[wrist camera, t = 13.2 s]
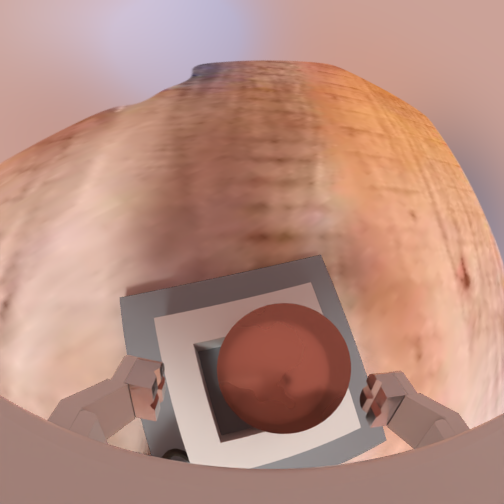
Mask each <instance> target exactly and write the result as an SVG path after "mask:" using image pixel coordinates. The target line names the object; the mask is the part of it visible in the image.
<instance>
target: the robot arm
mask: <svg viewBox="0 0 504 504" xmlns="http://www.w3.org/2000/svg"><path fill="white" fill-rule="evenodd" d="M164 371H165V367H164V363H163V362H159V361H154V360H149V359H145V358H140V357H135V356H131V355H126V356H124V358H123V360H122V361H121V363H120V365H119V366H118V368H117V370H116V371H115V373H114V375H113V377H112V378H111V380H109V379H106V380H104V381H102V382H100V383H98V384H96V385H94V386H91V387H89V388H87V389H85V390H83V391H80V392H78V393H76V394H74V395H71V396H69V397H67V398H65V399H62V400H61V401H60V402H59V404H58V405H57V407H56V408H55V410H54V411H53V413H52V414H51V416H50V417H49V419H48V420H45V419H43V418H41V417H39V416H37V415H35V414H33V413H31V412H29V411H27V410H25V409H23V408H22V407H20V406H18V405H16V404H14V403H13V402H11V401H9V400H7V399H6V398H4V397H2V396H1V395H0V504H504V413H503V414H501V415H500V416H498V417H496V418H494V419H492V420H490V421H488V422H485V423H483V424H481V425H479V426H477V427H474V428H472V429H469V428H468V426H467V425H466V423H465V422H464V420H463V419H462V418H461V416H460V415H459V413H457V412H455V411H453V410H451V409H449V408H447V407H445V406H443V405H442V404H440V403H438V402H436V401H434V400H432V399H430V398H428V397H427V396H425V395H423V394H421V393H417V392H416V390H415V389H414V388H413V386H412V385H411V383H410V382H409V380H408V379H407V377H406V376H405V375H404V373H403V372H401V371H395V372H388V373H376V374H370V375H369V376H368V378H367V380H366V382H367V386H365V387H364V388H363V389H362V391H361V394H360V400H359V401H360V406H361V408H362V410H363V411H365V412H366V413H367V414H366V416H365V418H366V420H367V422H368V424H369V427H370V428H372V427H380V426H387V427H388V428H389V429H391V430H392V431H393V432H394V433H395V434H397V435H398V436H399V437H400V438H401V439H403V440H404V441H405V442H406V443H408V444H409V445H410V446H411V447H413V448H414V449H413V450H409V451H406V452H402V453H398V454H394V455H390V456H385V457H381V458H376V459H371V460H365V461H360V462H354V463H347V464H340V465H332V466H322V467H311V468H294V469H247V468H230V467H218V466H209V465H200V464H193V463H186V462H180V461H174V460H169V459H164V458H159V457H154V456H150V455H145V454H141V453H137V452H133V451H130V450H126V449H122V448H119V447H116V446H112V445H109V444H108V443H107V439H108V438H110V437H111V436H112V435H114V434H115V433H116V432H118V431H119V430H120V429H122V428H123V427H124V426H126V425H127V424H128V423H130V422H131V421H132V420H134V419H135V417H137V418H142V419H147V420H152V421H157V418H158V415H159V412H160V403H161V402H162V401H163V399H164V396H165V390H166V379H165V378H164V377H163V374H164Z"/></svg>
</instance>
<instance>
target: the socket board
mask: <svg viewBox="0 0 504 504" xmlns="http://www.w3.org/2000/svg"><path fill="white" fill-rule="evenodd" d="M277 303H293V304H298V305H302V306H306V307H309V308H311V309H313V310H315V311H317V312H319V313H321V314H322V315H324V316H325V317H326V318H327V319H329V320H330V321H331V322H332V323H333V324H334V325H335V326H336V328H337V329H338V330H339V331H340V333H341V335H342V336H343V338H344V340H345V342H346V344H347V347H348V350H349V354H350V360H351V377H350V382H349V387H348V389H347V392H346V395H345V397H344V398H343V400H342V402H341V404H340V405H339V406H338V408H337V409H336V410H335V411H334V412H333V414H332V415H331V416H329V417H328V418H327V419H326V420H325V421H323V422H322V423H320V424H318V425H317V426H315V427H313V428H311V429H308V430H305V431H302V432H298V433H292V434H276V433H269V432H265V431H262V430H259V429H257V428H254V427H252V426H251V425H249V424H247V423H246V422H244V421H243V420H242V419H240V418H239V417H238V416H237V415H236V414H235V413H234V412H233V411H232V410H231V408H230V407H229V405H228V404H227V403H226V401H225V399H224V397H223V395H222V392H221V390H220V387H219V382H218V377H217V361H218V356H219V351H220V348H221V346H222V343H223V341H224V339H225V337H226V335H227V334H228V332H229V331H230V330H231V328H232V327H233V326H234V325H235V324H236V323H237V322H238V321H239V320H240V319H241V318H242V317H244V316H245V315H247V314H248V313H250V312H251V311H253V310H256V309H258V308H260V307H263V306H266V305H271V304H277ZM120 306H121V315H122V323H123V331H124V338H125V344H126V351H127V355H131V356H135V357H140V358H145V359H149V360H154V361H159V362H163V363H164V367H165V371H164V374H163V377H164V378H165V379H166V390H165V396H164V399H163V401H162V402H161V403H160V412H159V415H158V418H157V421H152V420H147V419H142V418H141V421H142V425H143V428H144V432H145V435H146V439H147V442H148V445H149V449H150V452H151V455H152V456H154V457H159V458H161V457H162V456H163V455H164V454H165V453H166V452H167V451H168V450H170V449H174V448H176V449H181V450H184V451H186V452H187V455H188V458H189V461H190V462H188V461H186V460H185V459H183V458H181V457H179V456H173V457H172V458H171V459H170V460H174V461H180V462H186V463H193V464H200V465H209V466H218V467H230V468H247V469H294V468H311V467H322V466H332V465H339V464H341V463H343V462H346V461H348V460H350V459H352V458H354V457H356V456H358V455H360V454H362V453H364V452H366V451H368V450H370V449H372V448H374V447H375V446H377V445H379V444H381V443H383V442H384V441H386V437H385V433H384V430H383V426H380V427H372V428H370V427H369V424H368V422H367V420H366V418H365V416H366V414H367V413H366V412H365V411H363V410H362V408H361V406H360V401H359V400H360V394H361V391H362V389H363V388H364V387H365V386H367V382H366V380H367V375H366V372H365V369H364V366H363V363H362V360H361V357H360V355H359V352H358V349H357V346H356V343H355V341H354V338H353V335H352V332H351V330H350V327H349V324H348V322H347V319H346V316H345V314H344V311H343V308H342V306H341V303H340V301H339V298H338V296H337V293H336V291H335V288H334V286H333V283H332V281H331V278H330V276H329V273H328V271H327V268H326V266H325V264H324V261H323V259H322V257H321V255H318V256H313V257H309V258H305V259H300V260H296V261H291V262H287V263H282V264H278V265H274V266H269V267H265V268H260V269H255V270H251V271H246V272H242V273H237V274H233V275H228V276H223V277H219V278H214V279H209V280H204V281H200V282H195V283H190V284H185V285H180V286H176V287H171V288H166V289H161V290H156V291H151V292H146V293H141V294H136V295H131V296H126V297H121V298H120Z"/></svg>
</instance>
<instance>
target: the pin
mask: <svg viewBox="0 0 504 504" xmlns="http://www.w3.org/2000/svg"><path fill="white" fill-rule="evenodd" d="M217 377H218V382H219V387H220V390H221V392H222V395H223V397H224V399H225V401H226V403H227V404H228V405H229V407H230V408H231V410H232V411H233V412H234V413H235V414H236V415H237V416H238V417H239V418H240V419H242V420H243V421H244V422H246V423H247V424H249V425H251V426H252V427H254V428H257V429H259V430H262V431H265V432H269V433H276V434H292V433H298V432H302V431H305V430H308V429H311V428H313V427H315V426H317V425H318V424H320V423H322V422H323V421H325V420H326V419H327V418H328V417H329V416H331V415H332V414H333V412H334V411H335V410H336V409H337V408H338V406H339V405H340V404H341V402H342V400H343V398H344V397H345V395H346V392H347V389H348V387H349V382H350V377H351V360H350V354H349V350H348V347H347V344H346V342H345V340H344V338H343V336H342V335H341V333H340V331H339V330H338V329H337V328H336V326H335V325H334V324H333V323H332V322H331V321H330V320H329V319H327V318H326V317H325V316H324V315H322V314H321V313H319V312H317V311H315V310H313V309H311V308H309V307H306V306H302V305H298V304H293V303H277V304H271V305H266V306H263V307H260V308H258V309H256V310H253V311H251V312H250V313H248V314H247V315H245V316H244V317H242V318H241V319H240V320H239V321H238V322H237V323H236V324H235V325H234V326H233V327H232V328H231V330H230V331H229V332H228V334H227V335H226V337H225V339H224V341H223V343H222V346H221V348H220V351H219V356H218V361H217Z"/></svg>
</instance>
